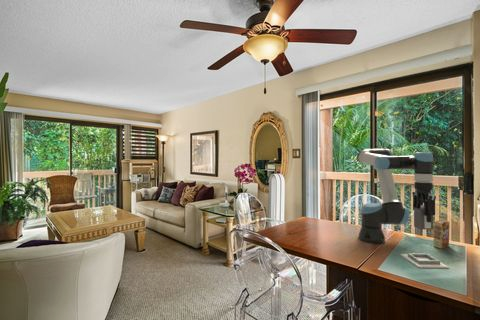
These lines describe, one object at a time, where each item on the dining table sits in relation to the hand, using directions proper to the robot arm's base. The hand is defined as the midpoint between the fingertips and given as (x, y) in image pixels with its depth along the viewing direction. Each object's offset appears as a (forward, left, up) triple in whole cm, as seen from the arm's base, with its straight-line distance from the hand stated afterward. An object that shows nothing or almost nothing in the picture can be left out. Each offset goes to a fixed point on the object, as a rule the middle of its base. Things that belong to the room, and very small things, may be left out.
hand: (423, 226), depth 119 cm
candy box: (-21, +25, -19) cm, 38 cm away
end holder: (0, 0, -18) cm, 18 cm away
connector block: (0, 0, -1) cm, 1 cm away
